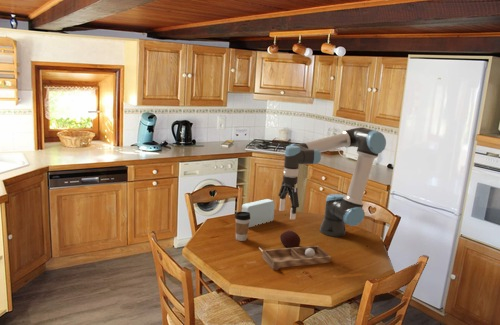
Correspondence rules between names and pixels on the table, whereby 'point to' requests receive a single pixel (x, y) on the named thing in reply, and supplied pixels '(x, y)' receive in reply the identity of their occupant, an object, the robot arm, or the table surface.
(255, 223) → the white rounded block
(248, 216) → the coffee cup
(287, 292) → the table surface
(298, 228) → the table surface
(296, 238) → the dark brown ovoid
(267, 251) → the divided wooden tray
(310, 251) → the ball
